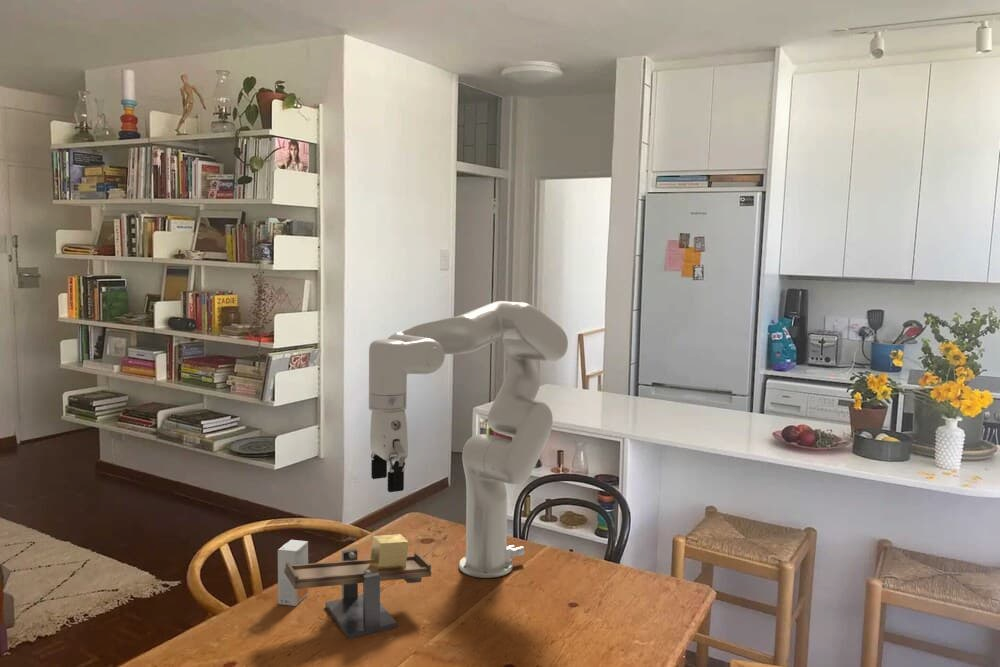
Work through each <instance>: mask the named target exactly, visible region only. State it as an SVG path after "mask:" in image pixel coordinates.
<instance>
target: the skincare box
mask: <svg viewBox="0 0 1000 667" xmlns="http://www.w3.org/2000/svg"><path fill="white" fill-rule="evenodd" d="M286 562H289V563H290V565H299V564H309V541H308V540H306V541H305V540H297V539H290V540H289V541H287V542H286V543H284V544H283V545H282V546H281V547H280V548H278V549H277V603H278V605H283V606H284V605H285V606H291V607H296V606H298V605H299V603H301V602H302V600H304V599H305V598H306V597H307V596H308V595H309V588H302V589H295V588H294V587H293V585H292V584H291V582H290V581H289V579H288V578H287V576H286V574H285V573H284V570H285V567H286Z"/></svg>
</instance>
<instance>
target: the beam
mask: <svg viewBox="0 0 1000 667" xmlns="http://www.w3.org/2000/svg"><path fill="white" fill-rule="evenodd" d="M348 556H349V558H350V559H351V560H350V561H342V560H339V561H329V562H327V561H326V562H316V563H313V562H312V563H308V564H299V565H290V563H289V562H286V567H285V570H284V573H285V574H286V576H287V578H288V579H289V581H290V582H291V584H292V585H293V587H294V588H295V589H302V588H308V589H310V588H320V587H321V588H322V587H323V588H324V587H331V586H332V587H333V586H342V585H345V584H356V583H358V584H363V575H368V574H373V573H379V574H380V582H386V581H396V580H397V581H398V580H404V581H405V582H406V584H412V583H416V584H417V583H422V578H429V577H430V578H431V577H432V571H431V569H432V565H431V564H430V562H429V561H427V560H426V559H425V558H424V557H422V555H421V554H419V552H414V555H407V561H406V569H400V570H388V571H376V570H375V569H374V568H373V567H372V566H371V565H370V560H371V558H366V559H364V558H363V559H357V560H355V559H356V555H355V554H354V553H353V552H350V553H349V555H348Z"/></svg>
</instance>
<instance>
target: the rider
mask: <svg viewBox="0 0 1000 667" xmlns="http://www.w3.org/2000/svg"><path fill="white" fill-rule="evenodd" d="M371 541H372V542H371V553H370V559H371V560H370V565H371V566H372V567H373V568H374V569H375V570H376V571H388V570H400V569H406V561H407V556H408V549H409V540H407V539H406V538H405V537H404V536H403V535H402V534H401V533H398V534H384V535H383V534H382V535H373V536H372V540H371Z"/></svg>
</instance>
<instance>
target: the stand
mask: <svg viewBox="0 0 1000 667" xmlns="http://www.w3.org/2000/svg"><path fill="white" fill-rule="evenodd" d="M350 552H353V553H354V554H355V555H356V559H355V560H358V549H357V548H352V549H351V548H350V549H346V550H341V561H350V560H351V559H350V558H349V556H348V555H349V553H350ZM358 584H359V583H356V584H345V585H341V595H342V598H341V599H335V600H330V601H326V602H325V608H326V610H327V611H328V612H329V614H330V615H331V617H332V619H334V621H335V623H336V624H337V625H338V627H339V628H340V630H341V631H342V633H343V634H344V635H345V637H346V639H348V640H350V639H354V638H358V637H364V636H366V635H371V634H374V633H380V632H383V631H387V630H392V629H397V628H398V622H397V620H396V619H395V618H394V617H393V616H392V615H391V613H390V612H389V611H388V610H387V609H386V608H385V606H384V605H383V604H382V603H381V581H380V574H379V573H373V574H368V575H363V583H362V594H359V591H358V590H359V589H358V588H359V587H358Z"/></svg>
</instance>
